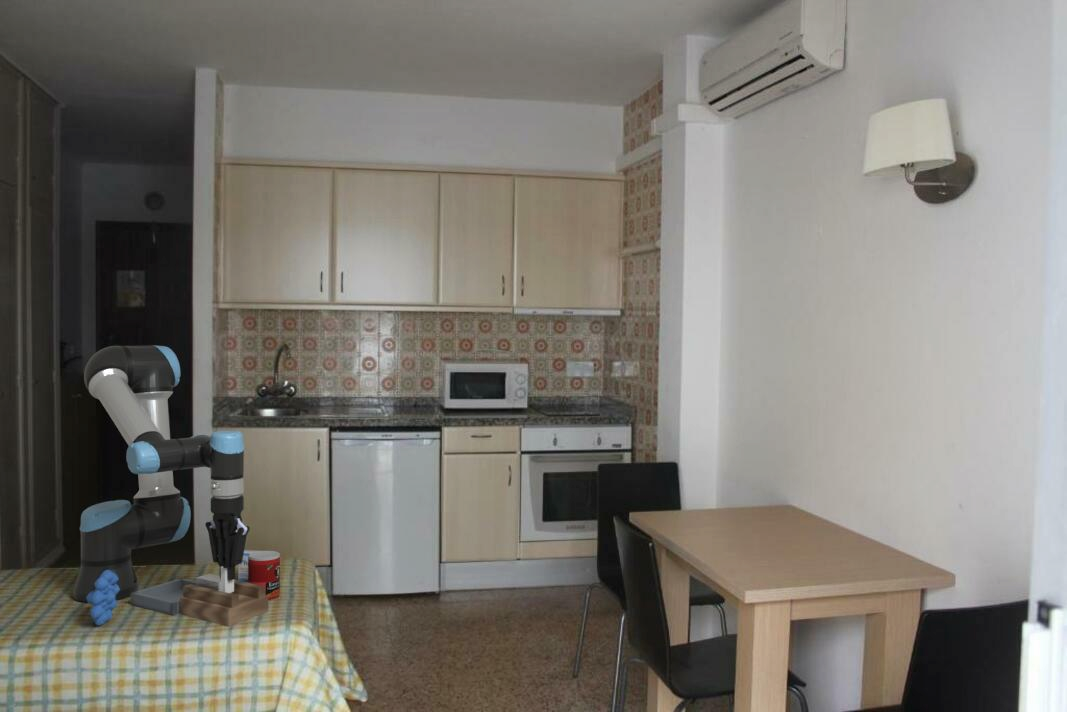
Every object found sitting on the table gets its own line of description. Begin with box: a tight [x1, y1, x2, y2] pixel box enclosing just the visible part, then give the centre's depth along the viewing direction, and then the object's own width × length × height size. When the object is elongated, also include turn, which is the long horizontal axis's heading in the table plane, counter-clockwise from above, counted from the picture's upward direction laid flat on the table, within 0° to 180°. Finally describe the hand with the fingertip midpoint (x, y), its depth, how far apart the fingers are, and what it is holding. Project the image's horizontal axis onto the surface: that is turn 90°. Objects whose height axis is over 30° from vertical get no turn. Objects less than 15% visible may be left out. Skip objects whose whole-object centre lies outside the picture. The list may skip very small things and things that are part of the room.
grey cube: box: [207, 575, 232, 594], centre depth 206 cm, size 4×4×4 cm
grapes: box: [86, 570, 120, 626], centre depth 198 cm, size 12×7×12 cm, turn 4°
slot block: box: [179, 579, 269, 627], centre depth 205 cm, size 17×12×6 cm
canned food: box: [248, 550, 281, 601], centre depth 218 cm, size 8×8×11 cm
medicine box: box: [237, 549, 259, 583], centre depth 230 cm, size 8×4×9 cm, turn 77°
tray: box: [130, 577, 196, 616], centre depth 214 cm, size 16×15×3 cm
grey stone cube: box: [195, 573, 220, 588], centre depth 208 cm, size 4×4×4 cm
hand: (227, 592), depth 205 cm, fingers closed
